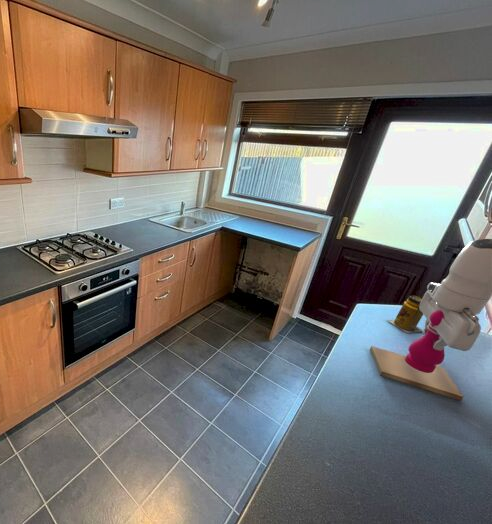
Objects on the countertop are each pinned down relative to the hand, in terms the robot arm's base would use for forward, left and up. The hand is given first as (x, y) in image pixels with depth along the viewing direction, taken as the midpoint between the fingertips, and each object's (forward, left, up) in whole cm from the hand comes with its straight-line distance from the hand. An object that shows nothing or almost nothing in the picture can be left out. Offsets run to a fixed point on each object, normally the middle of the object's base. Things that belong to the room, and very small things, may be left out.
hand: (431, 341), depth 78 cm
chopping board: (0, 0, -12) cm, 12 cm away
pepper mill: (0, 0, -9) cm, 9 cm away
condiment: (-7, -29, -12) cm, 32 cm away
